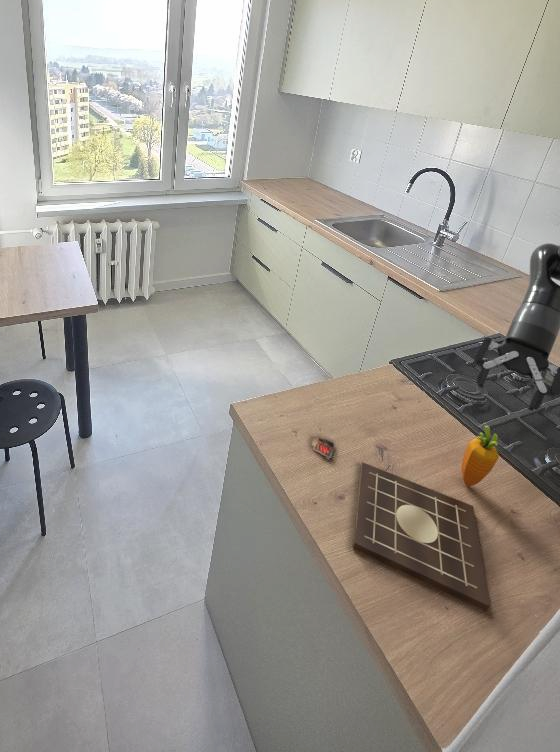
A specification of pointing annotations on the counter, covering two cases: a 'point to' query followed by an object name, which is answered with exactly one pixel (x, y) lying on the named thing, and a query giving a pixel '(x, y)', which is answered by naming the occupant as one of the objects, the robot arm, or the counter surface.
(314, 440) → the matchbox
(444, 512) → the game board
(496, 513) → the counter surface
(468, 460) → the carrot
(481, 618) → the counter surface
